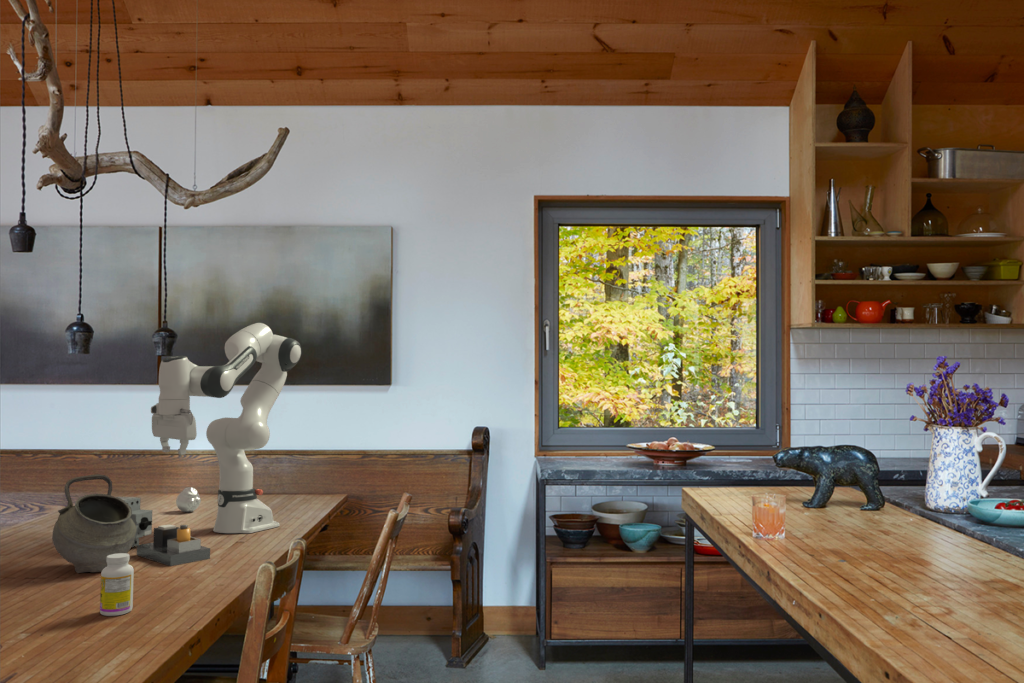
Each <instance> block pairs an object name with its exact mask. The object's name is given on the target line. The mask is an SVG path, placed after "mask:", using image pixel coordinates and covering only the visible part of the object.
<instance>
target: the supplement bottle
mask: <svg viewBox="0 0 1024 683" xmlns="http://www.w3.org/2000/svg"><path fill="white" fill-rule="evenodd" d="M129 561H130V553H128V552H127V553H118V554H111V555H108V556H107V558H106V562H107V567H105V568H104V569H103V570H102V571H100V572H101V573H100V596H99V598H100V599H99V613H100V614H101V615H102V616H105V617H117V616H122V615H126V614H127V613H130V612H131V611H132V610H133V608H134V607H133V605H134V604H133V603H134V575H135V574H134V573H135V570H134V567H133V566H132V565H131V564H129Z"/></svg>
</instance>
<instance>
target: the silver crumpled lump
mask: <svg viewBox="0 0 1024 683" xmlns="http://www.w3.org/2000/svg"><path fill="white" fill-rule="evenodd" d="M175 501H176V502H175V504H176V507H177V508H178V509H179V510H180V512H184V513H192V512H194V511H196V510H197V509H198V508H199V506H200V504H201V503H202V499H201V495H200V494H199V491H198V490H197V489H196V488H195V487H193V486H188V487H185V488H184V489H183V490H182V491H181V492H179V494H178V495H177V497H176V500H175Z"/></svg>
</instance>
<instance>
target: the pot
mask: <svg viewBox="0 0 1024 683" xmlns="http://www.w3.org/2000/svg"><path fill="white" fill-rule="evenodd" d="M93 480H102V481H105V482H106V483H107V486H108V489H107V493H91V494H85V495H82V496H81V497H79V498H77V500H75V503H74V502H73V500H72V496H71V492H70V486H71V485H72V484H74V483H79V482H84V481H93ZM112 491H113V481H112V480H111V478H110V477H109V476H107V475H106V474H105V475H104V474H101V473H100V474H90V475H89V474H88V475H81V476H77V477H73V478H71V479H69V480H67V482H66V483H65V485H64V495H65V499H66V501H67V506H65V507H63V508H62V509H61V508H60V509H58V510H57V512H58V513H59V515H58V518H57V520H56V521H55V524H54V526H53V528H52V538H51V539H52V544H53V546H54V548H55V551H57V553H58V554H59V555H60V557H61V558H63V559H64V560H65V561H67V562H69V563H70V564H72V565H73V566H74V571H75V572H76V573H77V574H80V573H88V572H90V573H98V572H102V570H103V569H104V568H105V567H107V562H106V558H107V556H108V555H111V554H118V553H127V554H128V553H129V552H130V550H131V547H132V545H133V543H134V539H135V533H136V525H135V523H134V522H133V520H132V519H131V518H130V517H131V515H132V509H131V507H130V506H129V505H128V504H127V503H126V502H125V501H124V500H122V499H120V498H118V497H119V496H113V495H112ZM73 503H74V504H73ZM132 548H133V547H132Z"/></svg>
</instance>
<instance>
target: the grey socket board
mask: <svg viewBox="0 0 1024 683" xmlns="http://www.w3.org/2000/svg"><path fill="white" fill-rule="evenodd" d="M179 528H180V526H176V528H174V529H167V530H162V529H158V527H154V528H153V538H152V540H153V541H152V542H148V543H141V544H139V545H137V546H136V556H137V555H138V557H140V556H141V558H144V559H147V560H150V561H153V562H156V563H159V564H163V565H165V566H168V567H173V566H179V565H183V564H184V565H185V564H189V563H190V564H191V563H194V562H199V561H205V560H210V559H211V548H210V547H207V546H203V545H202V544H201V542H202V540H201V538H197V537H193V536H191V535H190V541H184V542H178V541H177V529H179Z"/></svg>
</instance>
